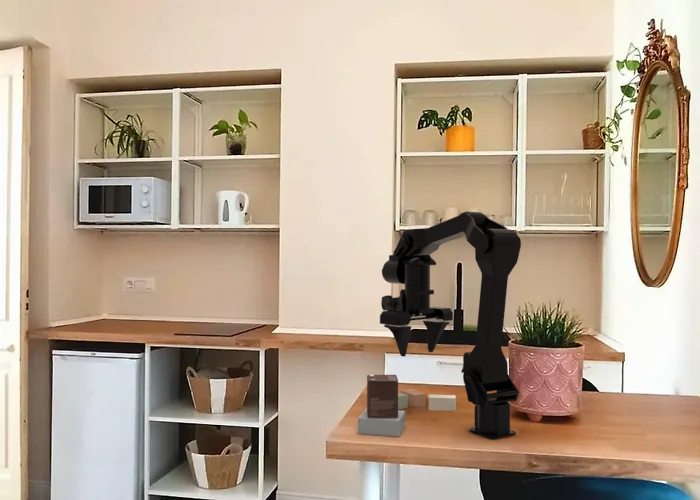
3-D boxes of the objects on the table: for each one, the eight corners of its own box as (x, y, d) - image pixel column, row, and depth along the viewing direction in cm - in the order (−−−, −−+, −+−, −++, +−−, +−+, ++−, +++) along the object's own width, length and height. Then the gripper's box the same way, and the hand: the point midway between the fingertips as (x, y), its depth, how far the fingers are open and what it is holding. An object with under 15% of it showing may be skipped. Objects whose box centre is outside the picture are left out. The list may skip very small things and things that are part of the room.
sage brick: (397, 405, 145) (397, 392, 145) (407, 408, 143) (407, 394, 143) (379, 410, 141) (379, 396, 141) (389, 412, 139) (389, 398, 139)
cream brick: (455, 408, 142) (455, 395, 142) (455, 411, 139) (455, 398, 139) (428, 407, 143) (428, 394, 143) (428, 410, 140) (428, 397, 140)
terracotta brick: (425, 406, 144) (425, 393, 144) (414, 408, 142) (414, 395, 142) (410, 401, 149) (410, 388, 149) (399, 402, 147) (399, 390, 148)
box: (398, 418, 121) (398, 380, 121) (367, 418, 121) (367, 380, 121) (396, 410, 127) (396, 374, 127) (366, 410, 127) (366, 374, 127)
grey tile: (405, 425, 127) (405, 410, 127) (398, 436, 119) (399, 421, 120) (366, 422, 129) (366, 408, 129) (357, 433, 121) (357, 418, 121)
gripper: (418, 282, 155) (418, 346, 155) (362, 285, 143) (362, 354, 142) (454, 284, 146) (454, 351, 146) (398, 287, 134) (397, 360, 134)
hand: (417, 354), depth 143 cm, fingers open, 9 cm apart
